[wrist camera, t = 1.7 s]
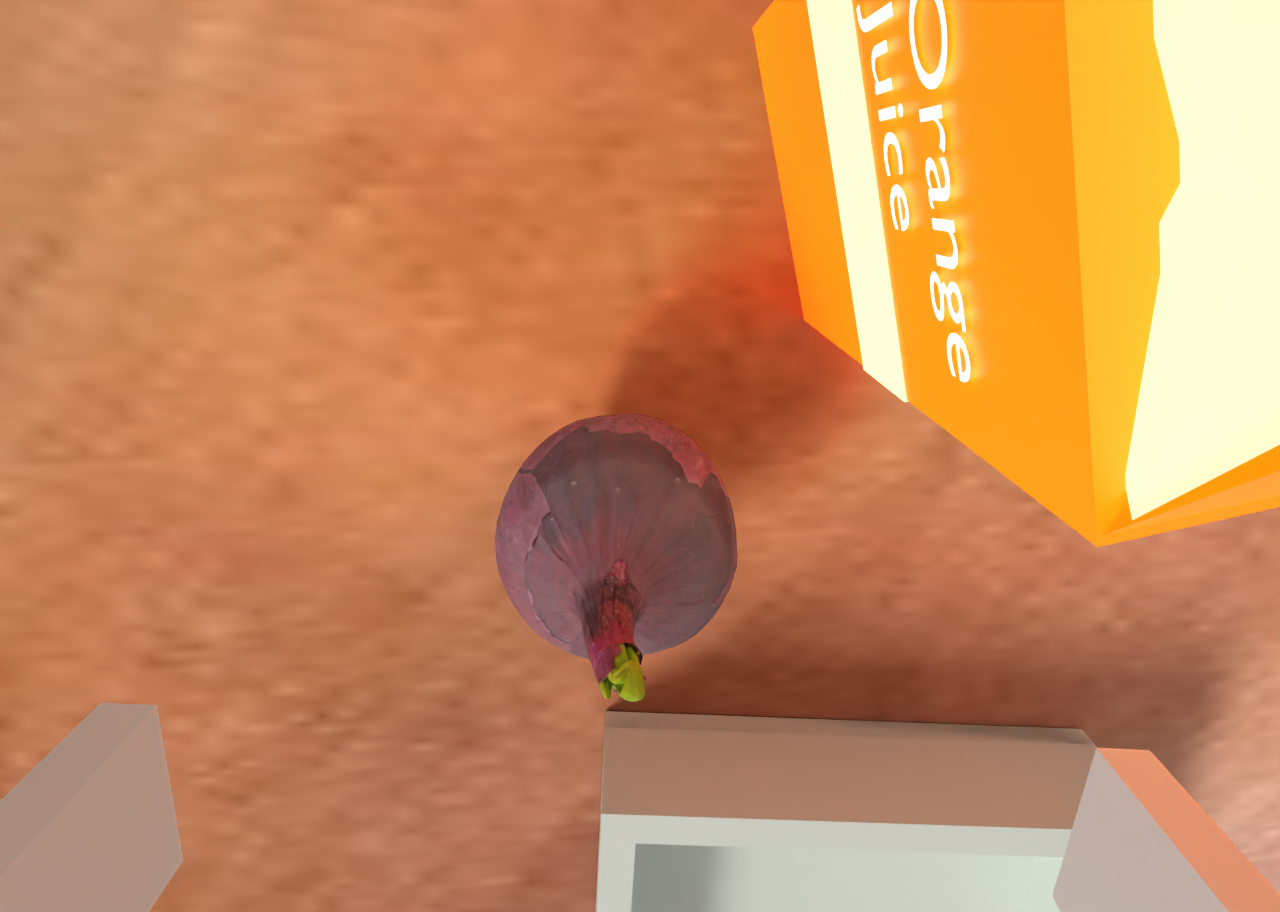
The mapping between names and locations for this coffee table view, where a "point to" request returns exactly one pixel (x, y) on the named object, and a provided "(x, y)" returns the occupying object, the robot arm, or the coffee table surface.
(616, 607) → the vegetable
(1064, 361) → the orange juice
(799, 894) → the grey tray
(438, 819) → the coffee table surface
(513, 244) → the coffee table surface
